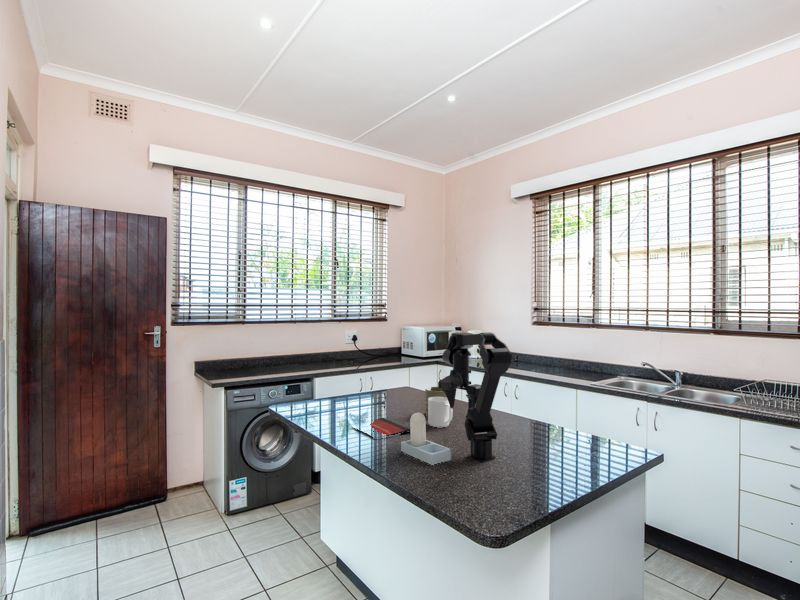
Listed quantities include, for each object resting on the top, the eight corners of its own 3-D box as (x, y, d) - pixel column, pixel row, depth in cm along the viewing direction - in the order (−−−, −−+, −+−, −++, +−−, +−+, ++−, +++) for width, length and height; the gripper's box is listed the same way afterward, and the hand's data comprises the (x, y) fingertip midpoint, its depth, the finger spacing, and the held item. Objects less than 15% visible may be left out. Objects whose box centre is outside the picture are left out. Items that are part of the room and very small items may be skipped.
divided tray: (451, 459, 139) (451, 449, 139) (431, 465, 134) (431, 454, 134) (419, 447, 151) (419, 437, 151) (401, 452, 146) (401, 442, 146)
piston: (420, 389, 194) (432, 385, 203) (420, 416, 194) (432, 411, 203) (443, 392, 188) (454, 388, 197) (443, 419, 188) (454, 414, 197)
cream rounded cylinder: (429, 450, 145) (428, 413, 145) (417, 453, 142) (416, 415, 142) (419, 446, 149) (418, 410, 149) (407, 449, 146) (407, 412, 146)
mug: (423, 425, 179) (423, 398, 179) (438, 421, 185) (438, 395, 185) (444, 431, 170) (444, 403, 170) (459, 427, 176) (459, 400, 176)
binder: (383, 417, 185) (411, 428, 168) (383, 422, 185) (411, 434, 168) (350, 424, 176) (376, 437, 159) (350, 430, 176) (376, 443, 159)
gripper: (427, 366, 158) (427, 408, 157) (464, 372, 143) (464, 419, 143) (448, 363, 164) (448, 404, 164) (486, 369, 150) (486, 414, 149)
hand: (460, 410), depth 155 cm, fingers open, 9 cm apart
